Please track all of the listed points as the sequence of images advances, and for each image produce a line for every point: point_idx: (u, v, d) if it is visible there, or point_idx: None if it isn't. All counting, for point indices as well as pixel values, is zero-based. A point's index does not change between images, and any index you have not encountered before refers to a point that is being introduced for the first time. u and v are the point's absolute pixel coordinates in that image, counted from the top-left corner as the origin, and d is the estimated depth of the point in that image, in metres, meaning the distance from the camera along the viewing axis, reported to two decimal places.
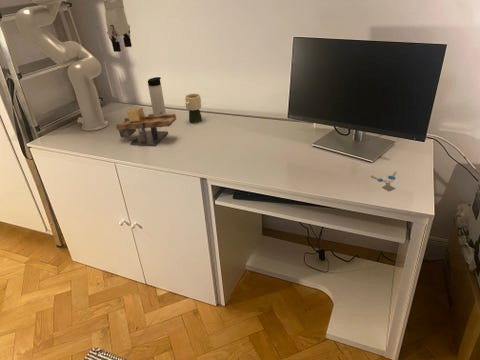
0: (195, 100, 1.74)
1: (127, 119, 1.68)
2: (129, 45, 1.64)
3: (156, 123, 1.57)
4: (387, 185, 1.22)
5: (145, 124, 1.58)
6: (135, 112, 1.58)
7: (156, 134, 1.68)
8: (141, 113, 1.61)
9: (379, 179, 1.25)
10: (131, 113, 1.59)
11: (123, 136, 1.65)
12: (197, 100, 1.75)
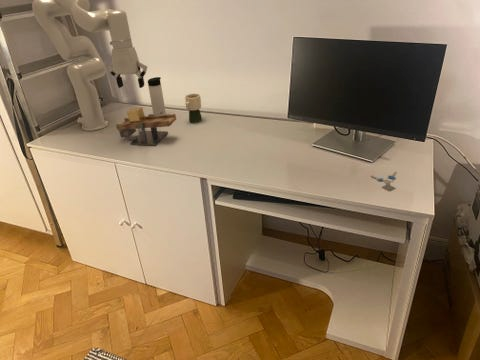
0: (195, 100, 1.74)
1: (127, 119, 1.68)
2: (122, 84, 1.57)
3: (156, 123, 1.57)
4: (387, 185, 1.22)
5: (145, 124, 1.58)
6: (135, 112, 1.58)
7: (156, 134, 1.68)
8: (141, 113, 1.61)
9: (379, 179, 1.25)
10: (131, 113, 1.59)
11: (123, 136, 1.65)
12: (197, 100, 1.75)
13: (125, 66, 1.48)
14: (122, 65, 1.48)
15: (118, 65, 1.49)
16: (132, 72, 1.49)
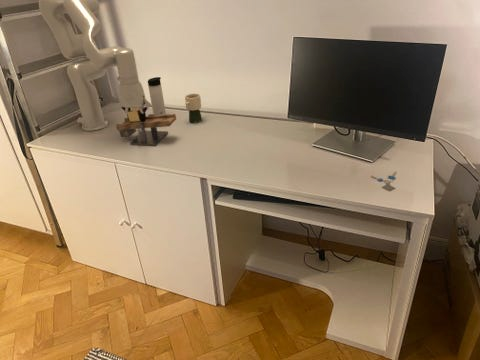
0: (194, 100, 1.74)
1: (127, 119, 1.68)
2: None
3: (156, 123, 1.57)
4: (387, 185, 1.22)
5: (145, 124, 1.58)
6: (135, 112, 1.58)
7: (156, 134, 1.68)
8: None
9: (379, 179, 1.25)
10: (131, 113, 1.59)
11: (123, 136, 1.65)
12: (197, 100, 1.75)
13: (131, 100, 1.56)
14: (129, 99, 1.56)
15: (125, 99, 1.56)
16: (138, 106, 1.56)
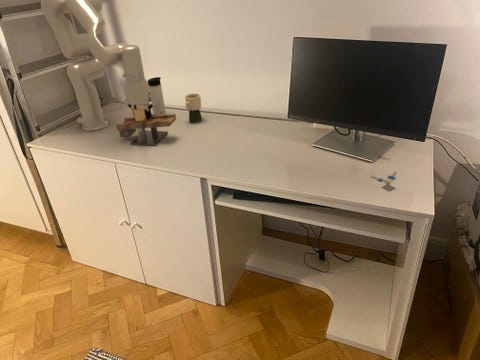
0: (195, 100, 1.74)
1: (127, 119, 1.68)
2: None
3: (156, 123, 1.57)
4: (387, 185, 1.22)
5: (145, 124, 1.58)
6: (141, 111, 1.57)
7: (156, 134, 1.68)
8: None
9: (379, 179, 1.25)
10: (138, 111, 1.58)
11: (123, 136, 1.65)
12: (197, 100, 1.75)
13: (137, 97, 1.54)
14: (134, 96, 1.54)
15: (131, 96, 1.55)
16: (144, 103, 1.55)
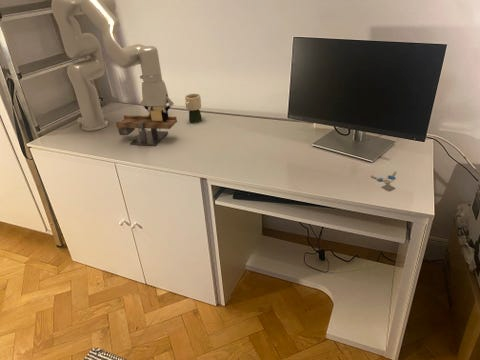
0: (195, 100, 1.74)
1: (127, 117, 1.67)
2: None
3: (156, 125, 1.57)
4: (387, 185, 1.22)
5: (145, 124, 1.58)
6: (158, 112, 1.56)
7: (156, 134, 1.68)
8: None
9: (379, 179, 1.25)
10: (154, 112, 1.56)
11: (122, 134, 1.64)
12: (197, 100, 1.75)
13: (155, 99, 1.53)
14: (152, 98, 1.53)
15: (148, 98, 1.53)
16: (161, 105, 1.54)
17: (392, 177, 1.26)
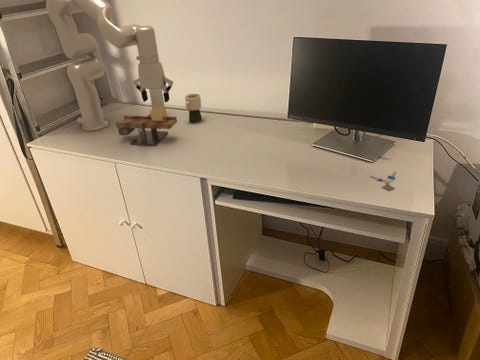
0: (195, 100, 1.74)
1: (127, 117, 1.67)
2: (147, 98, 1.58)
3: (156, 125, 1.57)
4: (387, 185, 1.22)
5: (145, 124, 1.58)
6: (158, 112, 1.56)
7: (156, 134, 1.68)
8: (164, 113, 1.59)
9: (379, 179, 1.25)
10: (154, 112, 1.56)
11: (122, 134, 1.64)
12: (197, 100, 1.75)
13: (151, 81, 1.49)
14: (148, 80, 1.49)
15: (144, 80, 1.50)
16: (158, 87, 1.50)
17: (392, 177, 1.26)
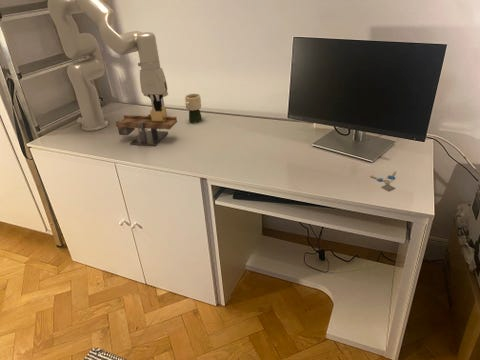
0: (195, 100, 1.74)
1: (127, 116, 1.67)
2: None
3: (156, 125, 1.57)
4: (387, 185, 1.22)
5: (145, 124, 1.58)
6: (158, 112, 1.56)
7: (156, 134, 1.68)
8: (164, 113, 1.59)
9: (379, 179, 1.25)
10: (155, 113, 1.56)
11: (121, 134, 1.64)
12: (197, 100, 1.75)
13: (153, 87, 1.50)
14: (150, 86, 1.50)
15: (146, 86, 1.51)
16: (160, 93, 1.51)
17: (392, 177, 1.26)
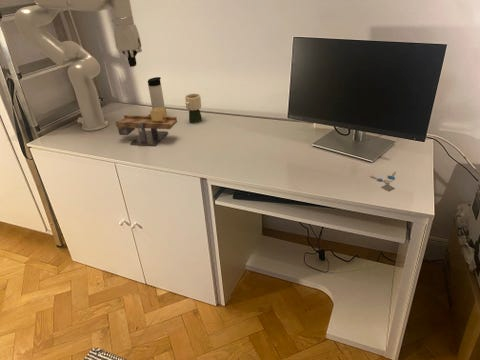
0: (195, 100, 1.74)
1: (127, 116, 1.67)
2: None
3: (156, 125, 1.57)
4: (386, 185, 1.22)
5: (145, 124, 1.58)
6: (158, 112, 1.56)
7: (156, 134, 1.68)
8: (164, 113, 1.59)
9: (378, 179, 1.25)
10: (155, 113, 1.56)
11: (121, 134, 1.64)
12: (197, 100, 1.75)
13: (127, 42, 1.58)
14: (124, 41, 1.58)
15: (120, 41, 1.58)
16: (133, 48, 1.59)
17: (392, 177, 1.26)
